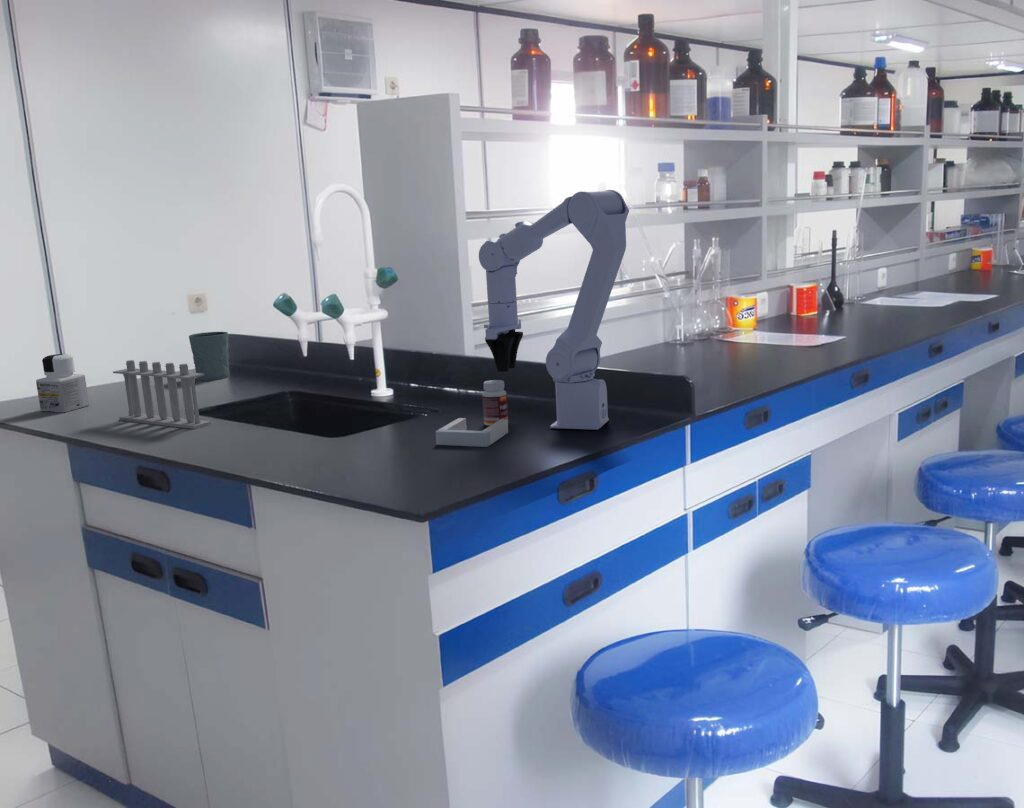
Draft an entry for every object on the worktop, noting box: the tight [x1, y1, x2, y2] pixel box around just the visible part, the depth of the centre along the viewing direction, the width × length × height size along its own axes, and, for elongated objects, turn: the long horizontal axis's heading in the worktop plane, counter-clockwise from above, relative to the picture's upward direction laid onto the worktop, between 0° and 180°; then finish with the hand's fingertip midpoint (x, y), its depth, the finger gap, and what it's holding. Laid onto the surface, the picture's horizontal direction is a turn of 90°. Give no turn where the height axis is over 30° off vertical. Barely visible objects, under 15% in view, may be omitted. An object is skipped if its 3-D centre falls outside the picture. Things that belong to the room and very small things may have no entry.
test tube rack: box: [112, 359, 212, 430], centre depth 203 cm, size 25×4×13 cm, turn 57°
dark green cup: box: [188, 331, 230, 382], centre depth 257 cm, size 10×10×12 cm
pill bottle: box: [481, 379, 509, 427], centre depth 185 cm, size 5×5×8 cm
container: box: [35, 353, 90, 413], centre depth 224 cm, size 8×8×13 cm
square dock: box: [435, 417, 509, 448], centre depth 175 cm, size 10×10×2 cm
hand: (506, 369), depth 190 cm, fingers open, 3 cm apart
